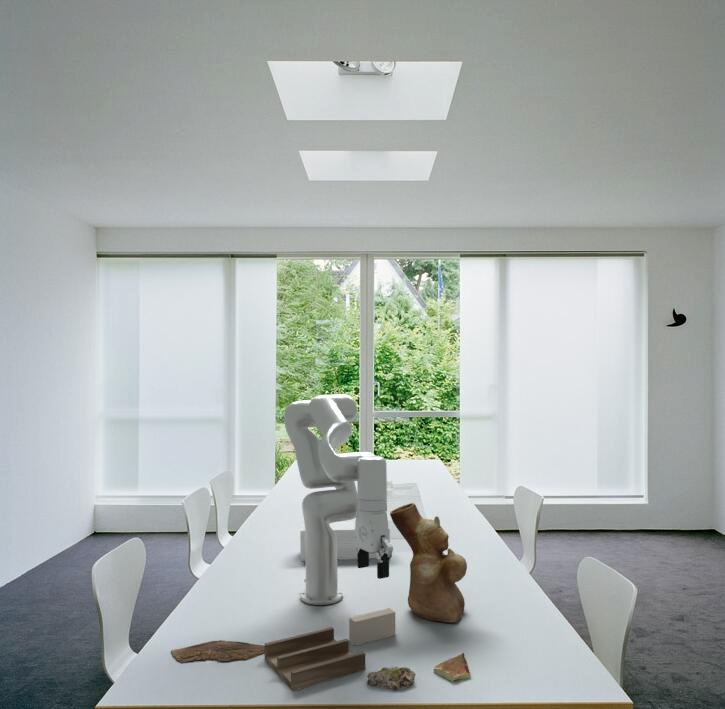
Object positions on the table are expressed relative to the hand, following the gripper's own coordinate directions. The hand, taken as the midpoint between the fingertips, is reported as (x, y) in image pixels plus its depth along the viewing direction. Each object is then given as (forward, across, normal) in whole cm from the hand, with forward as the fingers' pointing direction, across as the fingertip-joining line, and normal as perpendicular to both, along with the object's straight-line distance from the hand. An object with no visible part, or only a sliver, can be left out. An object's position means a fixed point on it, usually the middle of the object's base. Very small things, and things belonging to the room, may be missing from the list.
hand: (373, 572), depth 160 cm
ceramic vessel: (+17, -7, +22) cm, 29 cm away
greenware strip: (+17, -1, 0) cm, 17 cm away
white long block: (+16, -65, +27) cm, 72 cm away
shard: (+18, +22, +7) cm, 29 cm away
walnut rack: (+17, +4, -19) cm, 26 cm away
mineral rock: (+18, +20, -8) cm, 28 cm away
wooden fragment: (+17, -13, -35) cm, 41 cm away
